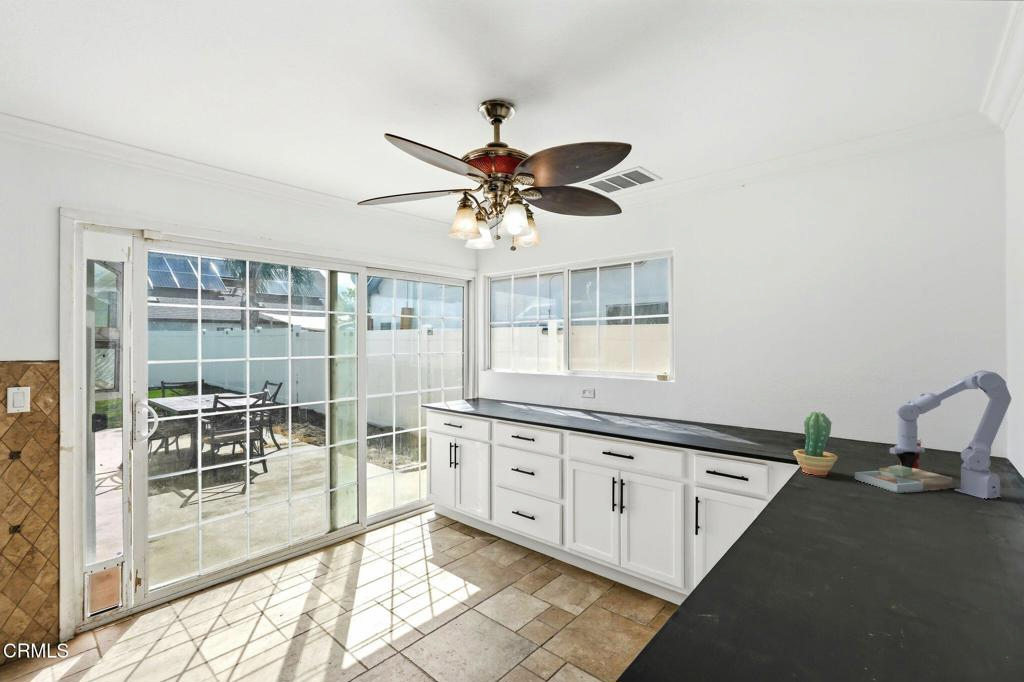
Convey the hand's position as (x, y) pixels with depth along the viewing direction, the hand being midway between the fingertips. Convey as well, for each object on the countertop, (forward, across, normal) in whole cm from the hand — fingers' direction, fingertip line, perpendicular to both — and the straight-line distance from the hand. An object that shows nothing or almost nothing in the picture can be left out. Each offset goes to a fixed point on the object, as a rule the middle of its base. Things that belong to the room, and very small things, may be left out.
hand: (906, 471), depth 178 cm
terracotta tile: (+2, +11, 0) cm, 11 cm away
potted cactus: (+5, +23, -19) cm, 30 cm away
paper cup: (+5, -20, -14) cm, 25 cm away
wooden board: (+5, -4, 0) cm, 6 cm away
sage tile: (+1, +3, 0) cm, 3 cm away
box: (+5, +9, 0) cm, 10 cm away
